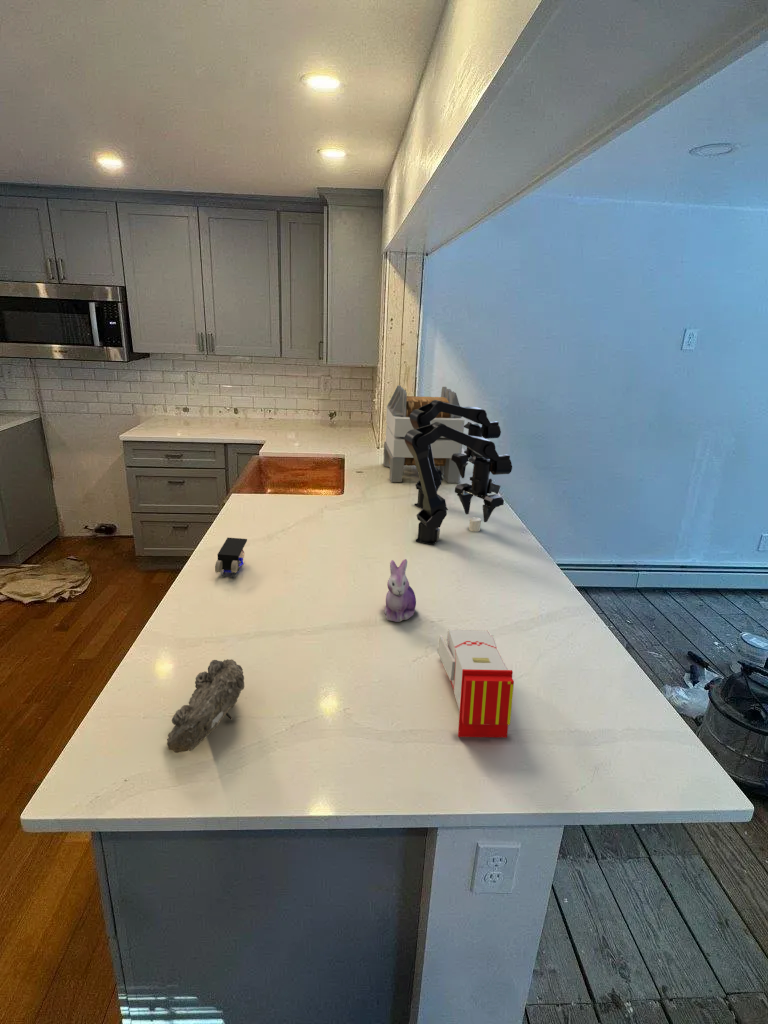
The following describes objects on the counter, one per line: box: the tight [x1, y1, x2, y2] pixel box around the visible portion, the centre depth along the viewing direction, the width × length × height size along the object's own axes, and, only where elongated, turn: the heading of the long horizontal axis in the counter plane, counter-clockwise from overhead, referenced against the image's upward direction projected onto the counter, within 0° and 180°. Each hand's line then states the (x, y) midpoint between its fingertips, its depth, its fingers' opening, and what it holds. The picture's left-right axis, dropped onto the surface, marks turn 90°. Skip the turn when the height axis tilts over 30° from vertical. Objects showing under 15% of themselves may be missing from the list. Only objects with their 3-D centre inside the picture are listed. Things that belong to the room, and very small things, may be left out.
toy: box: [437, 628, 515, 738], centre depth 117 cm, size 12×13×30 cm
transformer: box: [383, 384, 465, 484], centre depth 268 cm, size 34×33×41 cm
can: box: [468, 516, 482, 533], centre depth 206 cm, size 4×4×4 cm
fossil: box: [166, 658, 245, 754], centre depth 106 cm, size 22×10×15 cm
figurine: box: [384, 558, 417, 623], centre depth 145 cm, size 9×10×15 cm
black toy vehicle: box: [214, 537, 248, 578], centre depth 166 cm, size 7×8×15 cm
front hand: (476, 517), depth 199 cm, fingers open, 9 cm apart
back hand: (471, 476), depth 233 cm, fingers open, 9 cm apart
